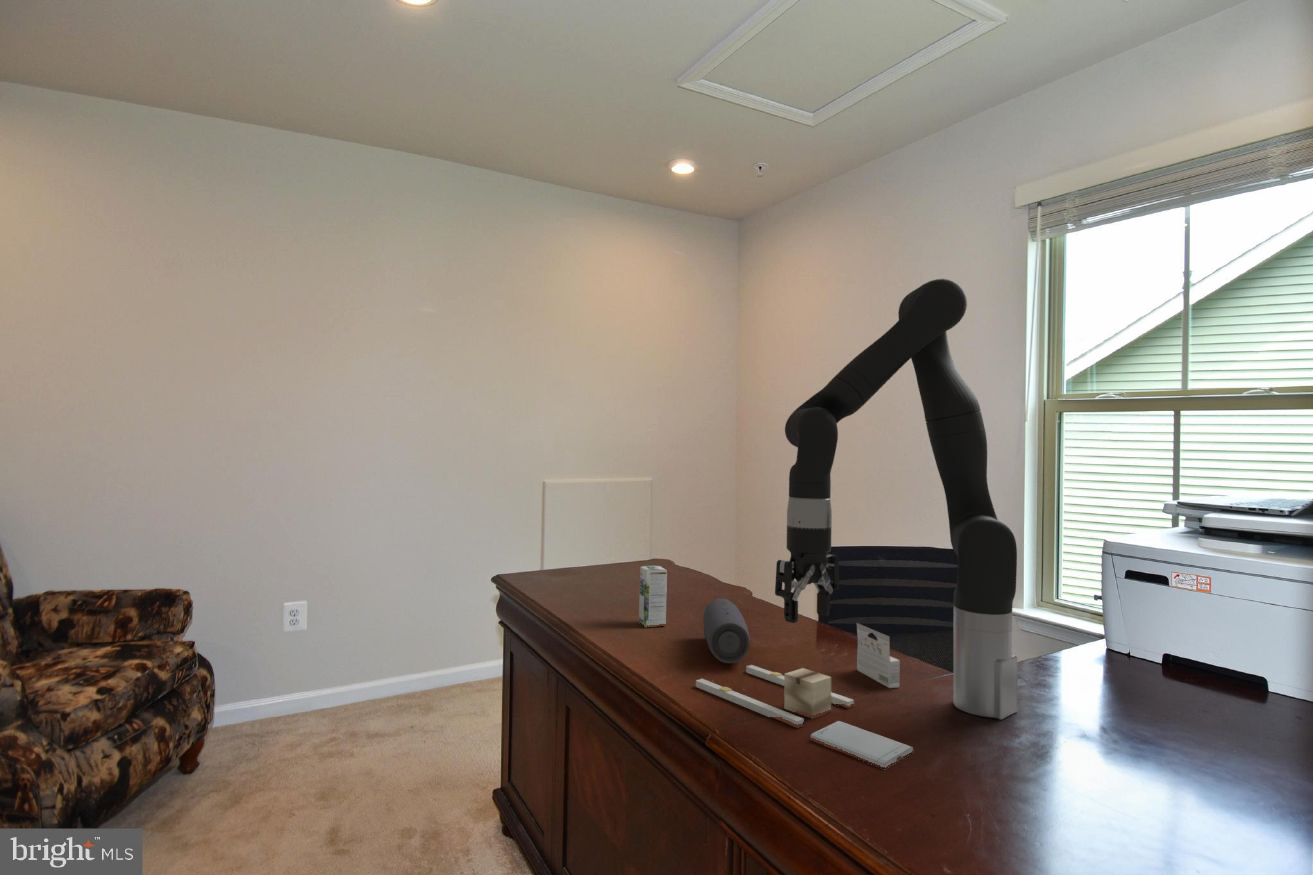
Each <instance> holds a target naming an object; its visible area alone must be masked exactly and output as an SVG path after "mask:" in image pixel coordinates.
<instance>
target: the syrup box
mask: <svg viewBox="0 0 1313 875" xmlns="http://www.w3.org/2000/svg"><path fill="white" fill-rule="evenodd" d="M639 568H640V569H639V570H640V571H639V596H638V598H639V600H638V602H639V603H638V604H639V605H638V621H639V620H640V621H641V622H642V624H644V626H647V625H648V626H649V625H659V624H666V625H667V590H668V589H667V583H668V580H667V579H668V574H667V573H668V570H667V569H665V568H664V567H662V566H661V565H644V566H640V567H639Z"/></svg>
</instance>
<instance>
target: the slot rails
mask: <svg viewBox="0 0 1313 875" xmlns="http://www.w3.org/2000/svg"><path fill="white" fill-rule="evenodd" d="M745 672H746V673H747V674H748V675H749V674H750V675H752V676H755V677H758V678H760V679H763V680H766V681H769V682H772V683H774V684H777V685H781V686H783V687H784V675H782V674H783V673H780V672H777V671H771V670H767V669H765V668H761V667H759V666H756V665H753V664H749V665H746V669H745ZM695 688H698V689H700V690H702V691H705V692H708V693H710V694H712V695H715V696H717V697H719V698H721V699H724V700H726V701H729V702H731V703H734V704H737V705H738V706H740V707H744V708H746V709H749V710H751V711H752V712H756V713H759V714H760V715H763V716H765V717H768V718H770V717H782V718H783V719H785V720H788V721H790V722H792V723H794V724H797V725H798V724H802V723H803V722H805V721H804V720H805V718H803V717H800V716H797V715H796V714H792V713H790V712H788V711H785V710H782V709H780V708H778V707H775V706H772V705H770V704H767V703H765V702H762V701H759V700H757V699H755V698H753V697H749V696H748V695H745V694H742V693H740V692H737V691H734V690H733V689H732V688H730V687H727V686H722V685H719V684H717V683H715V682H711V681H710V680H707V679H704V678H700V679H696V680H695ZM831 704H833V705H836V704H845V705H847V706H850V705H851V704H854V705H855V699H852V698H849V697H847V696H844V695H841V694H837V693H835V692H832V691H831Z"/></svg>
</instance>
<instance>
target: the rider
mask: <svg viewBox="0 0 1313 875" xmlns="http://www.w3.org/2000/svg"><path fill="white" fill-rule="evenodd" d="M783 674H784V675H783V676H784V686H783V688H784V690H783V692H784V693H783V694H784V702H783V703H784V704H783V705H784V709H785V710H788V711H791V712H793V713H795V712H796V711H799V712H800V711H801V712H805V713H808V714H810V715H816V714H818V713H823V712H825V711H828V710H831V711H832V703H831V692H832V677H831V676H829V675H826V674H824V673H820V672H818V671H813V670H810V669H807V668H805V667H801V668H798V669H796V670H795V669H794V670H792V671H789V672H785V673H783Z"/></svg>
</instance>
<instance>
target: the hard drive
mask: <svg viewBox="0 0 1313 875" xmlns="http://www.w3.org/2000/svg"><path fill="white" fill-rule="evenodd" d="M809 737H811V738H814V739H816V740H819V741H821V742H824V743H825V744H828V745H831V746H833V747H837V748H838V749H842V750H843V751H846V752H848V753H851V754H854V755H856V756H858V757H860V758H863V759H865V760H868V761H869V762H872V763H875V764H877V765H880V766H881V767H885V768H886V767H887V766H888V765H890V764H891V763H894V762H896V761H897V760H898V758H902V757H903V756H905V755H907V754H909V753H911V752H912V751H913V752H914V748H913V746H910V745H907V744H905V743H902V742H899V741H897V740H894V739H891V738H888V737H885V736H882V735H880V734H877V733H875V732H872V731H868V730H865V729H863V728H860V727H857V726H855V725H851V724H850V723H846V722H843V721H840V720H836V721H835V722H833V723H832V724H829V725H826V726H825V727H823V728H821V729H819V730H817V731H815V732H814V731H813V732H811V734H810V736H809Z"/></svg>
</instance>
